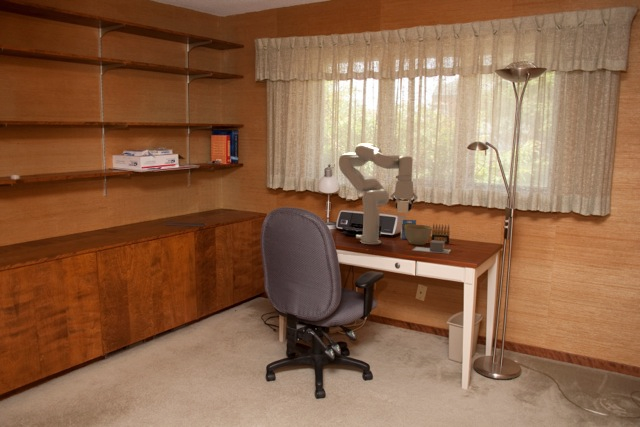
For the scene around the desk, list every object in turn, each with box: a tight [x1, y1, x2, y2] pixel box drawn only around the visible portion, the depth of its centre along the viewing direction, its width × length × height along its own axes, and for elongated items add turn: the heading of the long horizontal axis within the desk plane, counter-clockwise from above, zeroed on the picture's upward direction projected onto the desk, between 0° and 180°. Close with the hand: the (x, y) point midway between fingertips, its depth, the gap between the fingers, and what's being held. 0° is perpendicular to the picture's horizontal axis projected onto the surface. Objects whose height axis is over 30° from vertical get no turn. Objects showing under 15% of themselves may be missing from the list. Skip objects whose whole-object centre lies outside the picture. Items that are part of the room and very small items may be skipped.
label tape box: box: [400, 219, 417, 240], centre depth 356 cm, size 9×4×12 cm, turn 93°
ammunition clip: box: [430, 223, 451, 245], centre depth 342 cm, size 11×2×12 cm, turn 75°
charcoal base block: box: [429, 240, 446, 253], centre depth 315 cm, size 7×7×5 cm
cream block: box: [396, 200, 411, 214], centre depth 319 cm, size 6×6×6 cm
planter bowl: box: [405, 224, 433, 245], centre depth 336 cm, size 16×16×11 cm
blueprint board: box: [411, 246, 452, 255], centre depth 316 cm, size 20×12×1 cm, turn 71°
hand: (403, 209), depth 319 cm, fingers closed on cream block, 6 cm apart
